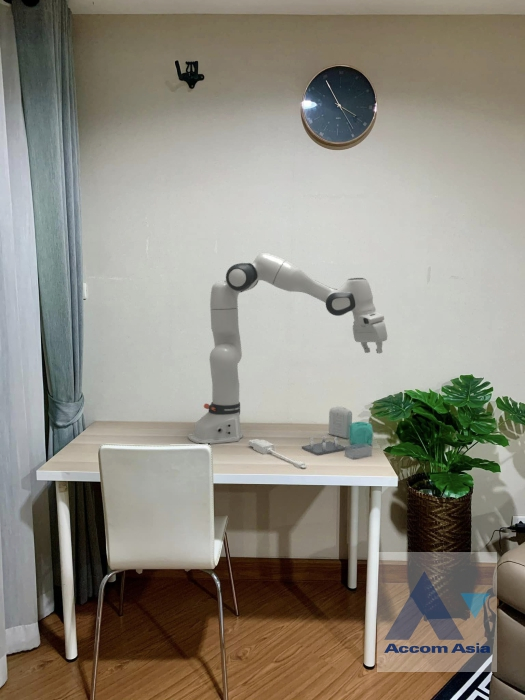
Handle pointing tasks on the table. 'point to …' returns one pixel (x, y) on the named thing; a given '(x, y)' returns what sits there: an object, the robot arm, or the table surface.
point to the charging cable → (271, 450)
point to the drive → (358, 451)
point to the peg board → (323, 447)
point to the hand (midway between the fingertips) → (373, 352)
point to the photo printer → (340, 422)
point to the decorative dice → (361, 433)
